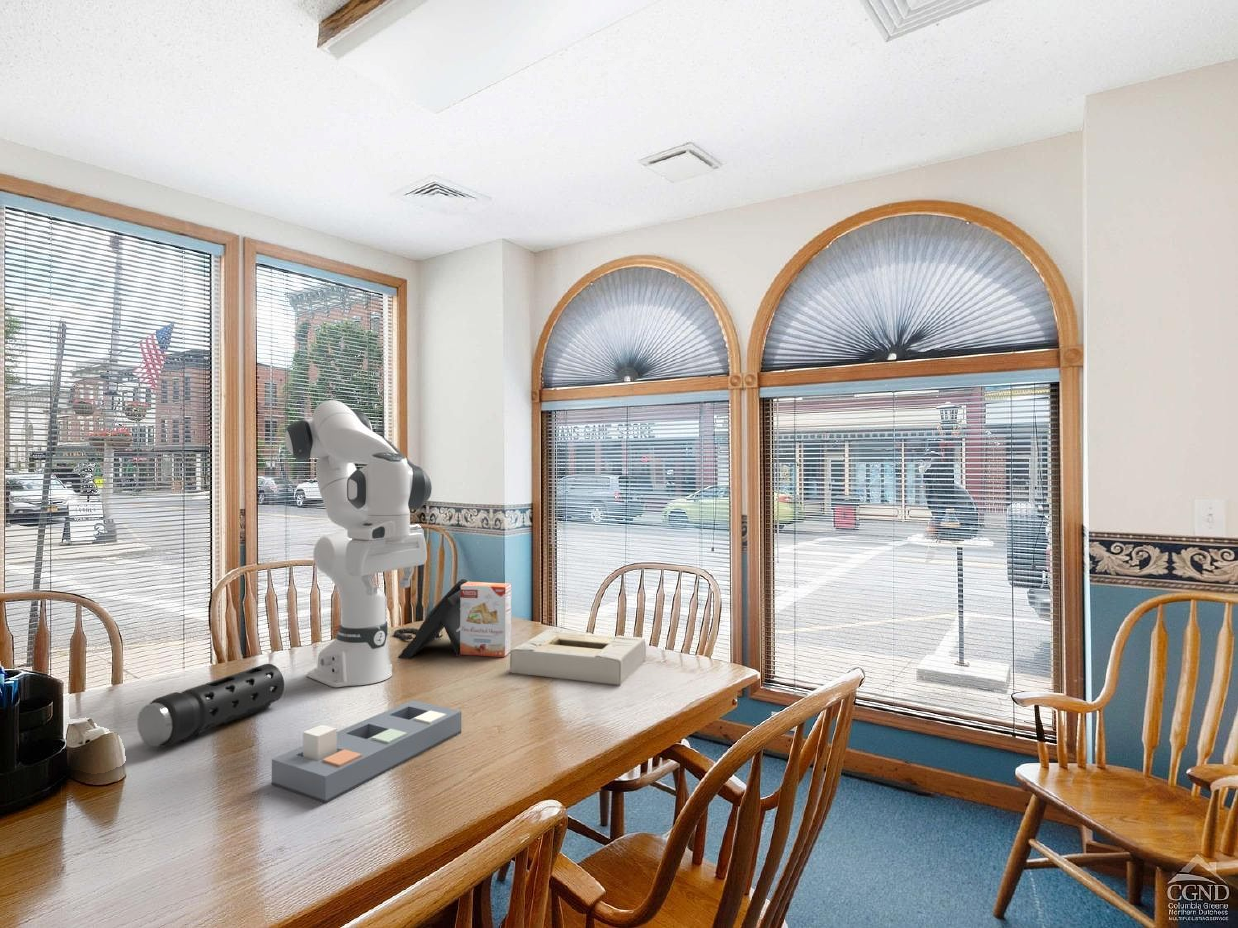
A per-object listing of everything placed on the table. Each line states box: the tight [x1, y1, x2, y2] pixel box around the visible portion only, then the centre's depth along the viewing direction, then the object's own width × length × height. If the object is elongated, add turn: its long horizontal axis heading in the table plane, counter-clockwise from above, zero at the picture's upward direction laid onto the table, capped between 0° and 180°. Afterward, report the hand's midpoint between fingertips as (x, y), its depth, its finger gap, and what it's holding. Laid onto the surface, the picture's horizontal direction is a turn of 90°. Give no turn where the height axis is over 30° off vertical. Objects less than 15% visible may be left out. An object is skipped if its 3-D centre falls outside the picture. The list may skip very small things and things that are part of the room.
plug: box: [302, 724, 338, 761], centre depth 125 cm, size 4×4×8 cm
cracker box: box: [460, 581, 512, 658], centre depth 204 cm, size 14×6×21 cm, turn 81°
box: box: [509, 628, 647, 686], centre depth 192 cm, size 23×8×32 cm
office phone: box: [393, 578, 468, 659], centre depth 214 cm, size 29×28×20 cm
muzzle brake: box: [137, 663, 285, 748], centre depth 148 cm, size 10×28×10 cm, turn 159°
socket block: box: [271, 699, 462, 804], centre depth 134 cm, size 14×34×5 cm, turn 152°
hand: (388, 590), depth 150 cm, fingers open, 8 cm apart
